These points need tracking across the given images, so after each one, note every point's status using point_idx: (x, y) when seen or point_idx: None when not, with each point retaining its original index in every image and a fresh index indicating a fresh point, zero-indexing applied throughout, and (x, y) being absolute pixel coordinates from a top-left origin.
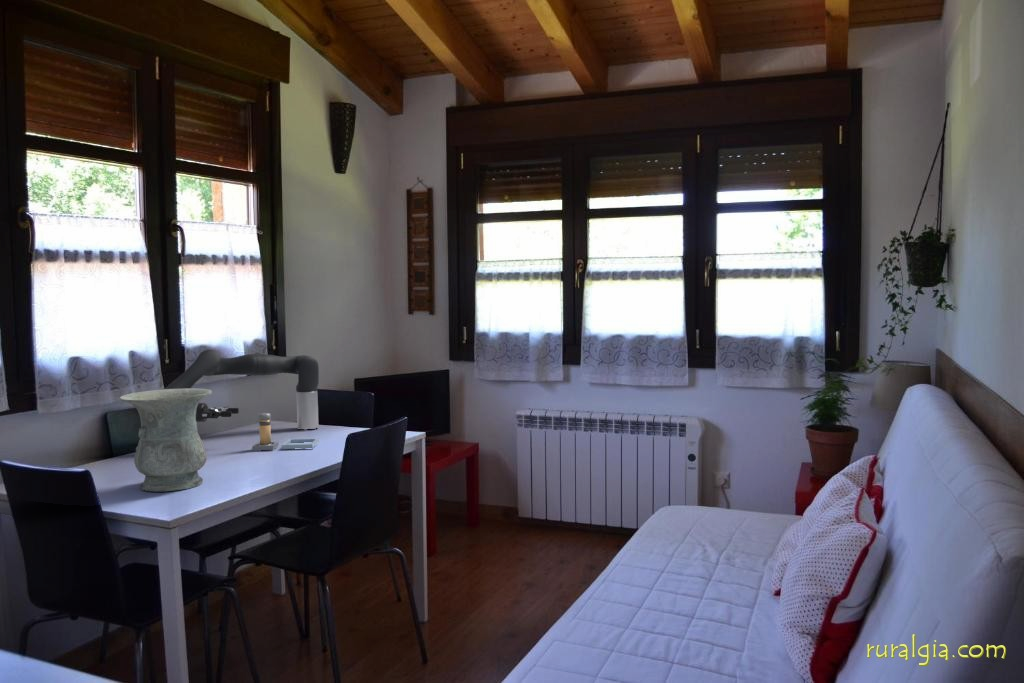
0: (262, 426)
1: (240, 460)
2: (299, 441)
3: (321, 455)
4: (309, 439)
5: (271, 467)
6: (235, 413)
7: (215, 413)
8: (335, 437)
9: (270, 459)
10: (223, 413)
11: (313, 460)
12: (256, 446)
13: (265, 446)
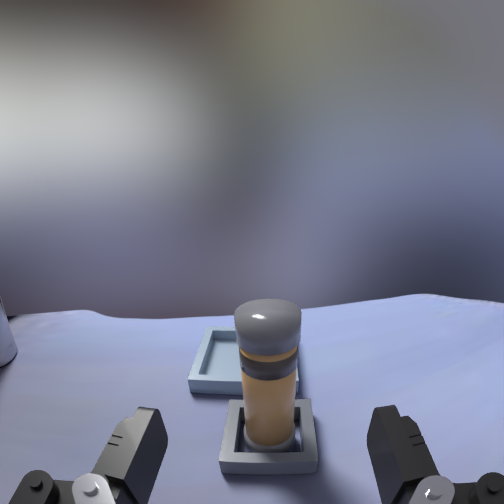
0: (296, 368)
1: (470, 439)
2: (204, 363)
3: (360, 316)
4: (209, 340)
5: (492, 347)
6: (161, 458)
7: (500, 489)
8: (142, 321)
9: (430, 378)
10: (428, 459)
11: (409, 315)
12: (316, 447)
13: (312, 420)
